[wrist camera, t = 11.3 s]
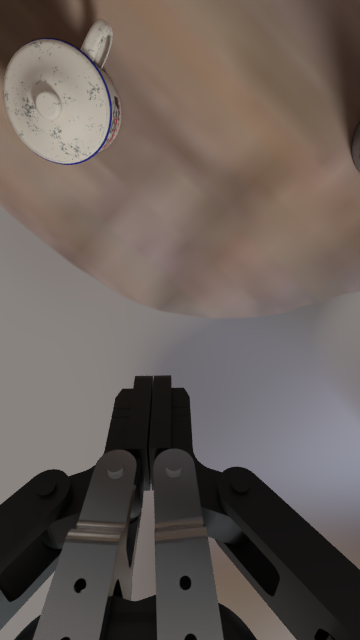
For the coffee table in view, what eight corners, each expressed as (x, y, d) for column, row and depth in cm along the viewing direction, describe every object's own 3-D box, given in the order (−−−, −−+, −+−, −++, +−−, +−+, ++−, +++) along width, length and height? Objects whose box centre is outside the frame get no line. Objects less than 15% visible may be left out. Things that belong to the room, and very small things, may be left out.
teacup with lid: (99, 173, 39) (74, 191, 29) (25, 121, 36) (-32, 121, 26) (155, 69, 34) (147, 48, 24) (74, -1, 31) (27, -58, 21)
